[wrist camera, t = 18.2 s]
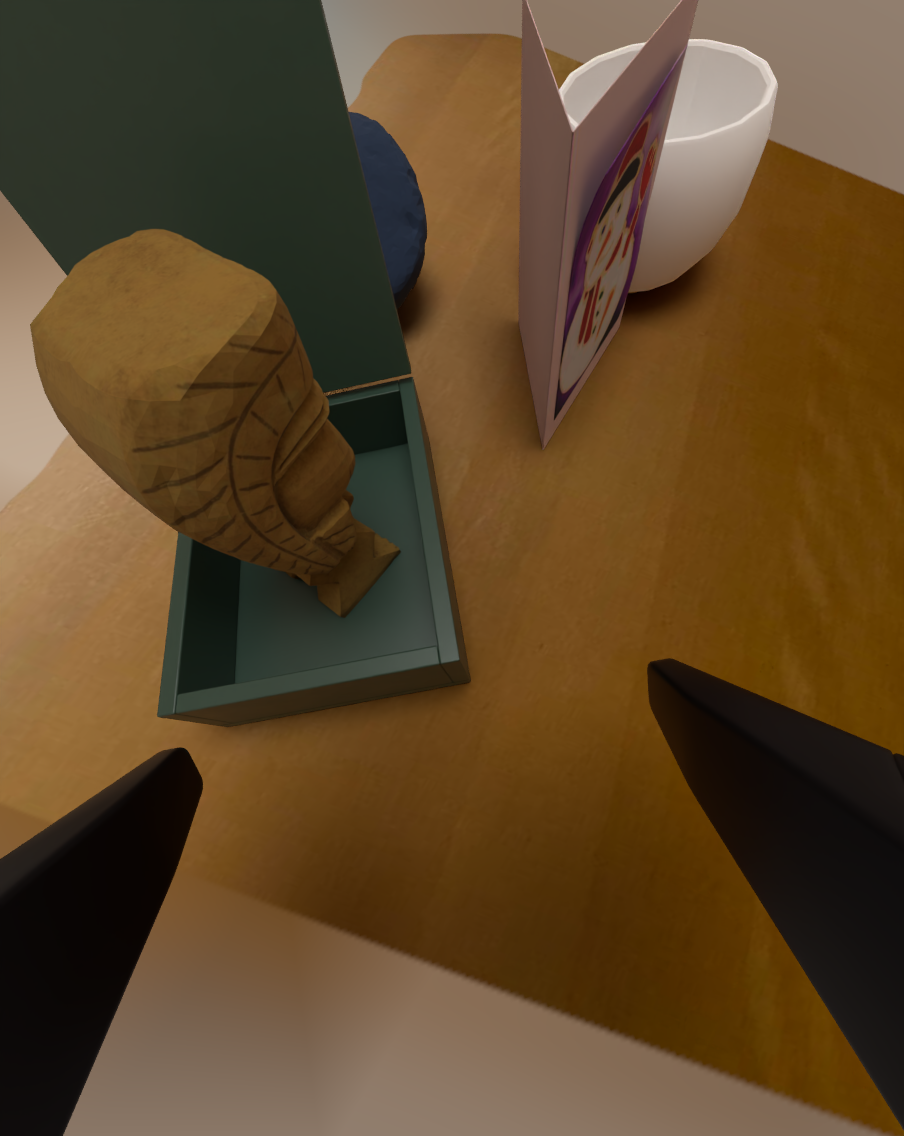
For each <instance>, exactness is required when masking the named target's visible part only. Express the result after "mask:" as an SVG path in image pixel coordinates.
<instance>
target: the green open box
mask: <svg viewBox="0 0 904 1136" xmlns="http://www.w3.org/2000/svg"><path fill="white" fill-rule="evenodd" d="M326 397H327V399H328V400H329V415H328V417H327V419H328V420H329V421H330V422H331V423H332V425H333V426H334V427H335V428H336V429H337V430H338V431H339V432H340V434H341V435H342V437H343V438H344V439H345V441H346V442H347V443H348V444H349V446H350V447H351V448H352V450H353V452H354V455H355V467H354V471H353V474H352V476H351V478H350V482H349V484H348V486H347V488H346V490H347V491H349V492H350V493H351V494H352V495H353V497H354V500H353V502H352V505H351V508H350V510H351V513H352V516H353V518H355V519H356V520H358V521H359V522H361V523H362V524H364V525H366V526H367V527H369V528H371V529H372V530H373V531H374V532H375V534H376V533H377V534H378V535H379V536H380V537H381V538H386V539H387V540H388V541H389V542H390V543H393V544H394V545H395V546H397V547H398V548H399V549H400V551H401V552H400V554H399V555H398V556H397V557H396V558H395V559H394V560H393V561H392V563H391V564H390V565H389V567H388V568H387V569H386V571H385V572H384V573H383V574H382V576H381V577H380V578H379V579H378V580H377V581H376V583H375V584H374V585H373V586H372V587H371V589H370V590H369V591H368V592H367V593H366V595H365V596H364V597H363V598H362V599H361V600H360V601H359V603H358V604H357V605H356V606H355V607H354V608H353V609H352V611H351V612H350V613H349V614H348V615H347V616H346V617H345V618H343V617H340V616H339V615H337V614H336V613H335V612H334V611H332V610H331V609H330V608H329V607H327V606H326V605H325V604H323V603H322V602H321V601H319V600H318V591H317V585H316V586H309V585H308V584H307V583H305V582H304V581H303V580H302V579H301V578H300V577H299V578H298V579H295V578H292V577H290V576H289V575H288V574H287V573H286V572H284V571H279V570H275V569H271V568H267V567H263V566H260V565H256V564H253V563H249V562H246V561H242V560H240V559H238V558H236V557H233V556H230V555H228V554H225V553H222V552H220V551H217V550H215V549H212V548H210V547H208V546H206V545H204V544H202V543H200V542H198V541H196V540H194V539H192V538H190V537H188V536H186V535H184V534H182V533H180V532H178V540H177V549H176V558H175V566H174V575H173V584H172V592H171V601H170V610H169V618H168V627H167V635H166V644H165V653H164V661H163V670H162V679H161V687H160V696H159V705H158V713H157V716H158V717H161V718H168V719H175V720H182V721H189V722H196V723H203V724H210V725H217V726H224V727H231V726H236V725H241V724H247V723H252V722H258V721H263V720H268V719H274V718H279V717H285V716H290V715H296V714H301V713H306V712H312V711H317V710H323V709H328V708H333V707H339V706H344V705H350V704H355V703H361V702H366V701H371V700H377V699H382V698H388V697H393V696H398V695H404V694H409V693H415V692H420V691H426V690H431V689H436V688H442V687H447V686H453V685H458V684H463V683H469V682H470V681H471V679H470V674H469V668H468V662H467V656H466V651H465V645H464V639H463V633H462V628H461V622H460V616H459V610H458V605H457V599H456V593H455V587H454V581H453V576H452V570H451V564H450V558H449V553H448V547H447V541H446V535H445V530H444V524H443V518H442V512H441V507H440V501H439V495H438V489H437V484H436V478H435V472H434V466H433V460H432V455H431V449H430V443H429V438H428V434H427V430H426V426H425V422H424V418H423V414H422V410H421V407H420V403H419V399H418V395H417V391H416V387H415V383H414V379H413V377H409V378H405V379H400V380H399V381H398V380H396V381H391V382H387V383H382V384H378V385H373V386H369V387H364V388H360V389H355V390H350V391H346V392H341V393H337V394H332V395H328V396H326Z"/></svg>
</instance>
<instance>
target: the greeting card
mask: <svg viewBox="0 0 904 1136" xmlns="http://www.w3.org/2000/svg"><path fill="white" fill-rule="evenodd" d="M697 3H698V0H681V1H680V2H679V4H678V5H677V6H676V7H675V8H674V10H673V11H672V12H671V13H670V14H669V16H668V17H667V18H666V19H665V21H664V22H663V23H662V24H661V25H660V27H659V28H658V29H657V30H656V32H655V33H654V34H653V35H652V36H651V37H650V39H649V40H648V41H647V42H646V43H645V45H644V46H643V47H642V48H641V50H640V51H639V52H638V53H637V54H636V56H635V57H634V58H633V59H632V60H631V62H630V63H629V64H628V65H627V66H626V68H625V69H624V70H623V71H622V73H621V74H620V75H619V76H618V77H617V79H616V80H615V81H614V82H613V83H612V85H611V86H610V87H609V88H608V89H607V91H606V92H605V93H604V94H603V96H602V97H601V98H600V99H599V100H598V102H597V103H596V104H595V105H594V106H593V108H592V109H591V110H590V111H589V113H588V114H587V115H586V116H585V117H584V119H583V120H582V121H581V122H580V123H579V125H578V126H577V127H576V128H575V129H574V131H573V129H572V126H571V123H570V120H569V118H568V115H567V112H566V109H565V106H564V103H563V101H562V98H561V95H560V92H559V89H558V86H557V84H556V81H555V78H554V75H553V72H552V70H551V67H550V64H549V61H548V58H547V55H546V53H545V50H544V47H543V44H542V41H541V39H540V36H539V33H538V30H537V27H536V24H535V22H534V19H533V16H532V13H531V10H530V7H529V5H528V2H527V0H523V4H522V9H523V10H522V83H521V162H520V241H519V320H518V322H519V327H520V333H521V338H522V343H523V349H524V354H525V359H526V365H527V370H528V375H529V381H530V386H531V391H532V397H533V402H534V407H535V412H536V418H537V423H538V428H539V434H540V439H541V444H542V450H544V448H545V446H546V445H547V443H548V442H549V440H550V438H551V437H552V435H553V433H554V432H555V430H556V429H557V427H558V425H559V424H560V422H561V421H562V419H563V417H564V416H565V414H566V412H567V411H568V409H569V408H570V406H571V404H572V403H573V401H574V400H575V398H576V396H577V395H578V393H579V391H580V390H581V388H582V387H583V385H584V383H585V382H586V380H587V379H588V377H589V375H590V374H591V372H592V370H593V369H594V367H595V366H596V364H597V362H598V361H599V359H600V358H601V356H602V354H603V353H604V351H605V349H606V348H607V346H608V345H609V343H610V341H611V340H612V338H613V337H614V335H615V333H616V332H617V330H618V328H619V326H620V322H621V318H622V314H623V310H624V306H625V301H626V297H627V294H628V291H629V289H630V285H631V282H632V278H633V275H634V271H635V268H636V263H637V259H638V254H639V249H640V244H641V238H642V233H643V227H644V222H645V218H646V213H647V209H648V205H649V201H650V197H651V194H652V190H653V186H654V181H655V177H656V173H657V169H658V165H659V161H660V157H661V152H662V148H663V144H664V140H665V136H666V132H667V128H668V123H669V119H670V115H671V111H672V107H673V103H674V99H675V94H676V90H677V86H678V82H679V78H680V74H681V70H682V65H683V61H684V57H685V53H686V49H687V46H688V41H689V36H690V32H691V28H692V24H693V20H694V16H695V11H696V7H697Z"/></svg>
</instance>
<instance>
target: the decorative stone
mask: <svg viewBox="0 0 904 1136" xmlns="http://www.w3.org/2000/svg"><path fill="white" fill-rule="evenodd" d="M349 116H350V120H351V124H352V128H353V133H354V137H355V141H356V145H357V149H358V153H359V157H360V161H361V165H362V169H363V173H364V178H365V182H366V186H367V190H368V194H369V198H370V202H371V206H372V210H373V214H374V218H375V223H376V227H377V231H378V235H379V239H380V243H381V247H382V251H383V255H384V259H385V263H386V268H387V272H388V276H389V280H390V284H391V288H392V292H393V296H394V300H395V304H396V309H398V308H399V307H400V306H401V305H402V304H403V302H404V301H405V299H406V298H407V296H408V294H409V292H410V290H411V289H413V287H414V286H415V284H416V281H417V278H418V277H419V274H420V271H421V268H422V265H423V260H424V256H425V242H426V239H427V222H426V215H425V208H424V203H423V199H422V195H421V192H420V190H419V187H418V183H417V179H416V175H415V173H414V171H413V169H412V167H411V165H410V163H409V162H408V160H407V158H406V156H405V154H404V153H403V152H402V150H401V149H400V147H399V146H398V144H397V143H396V142H395V140H394V139H393V138H392V136H391V135H390V134H388V133H387V132H386V130H385V129H384V128H383V127H382V126H381V125H380V124H379V123H378V122H377V121H375V120H371V119H369V118H368V117H366V116H364V115H361V114H359V113H352V112H349Z"/></svg>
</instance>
